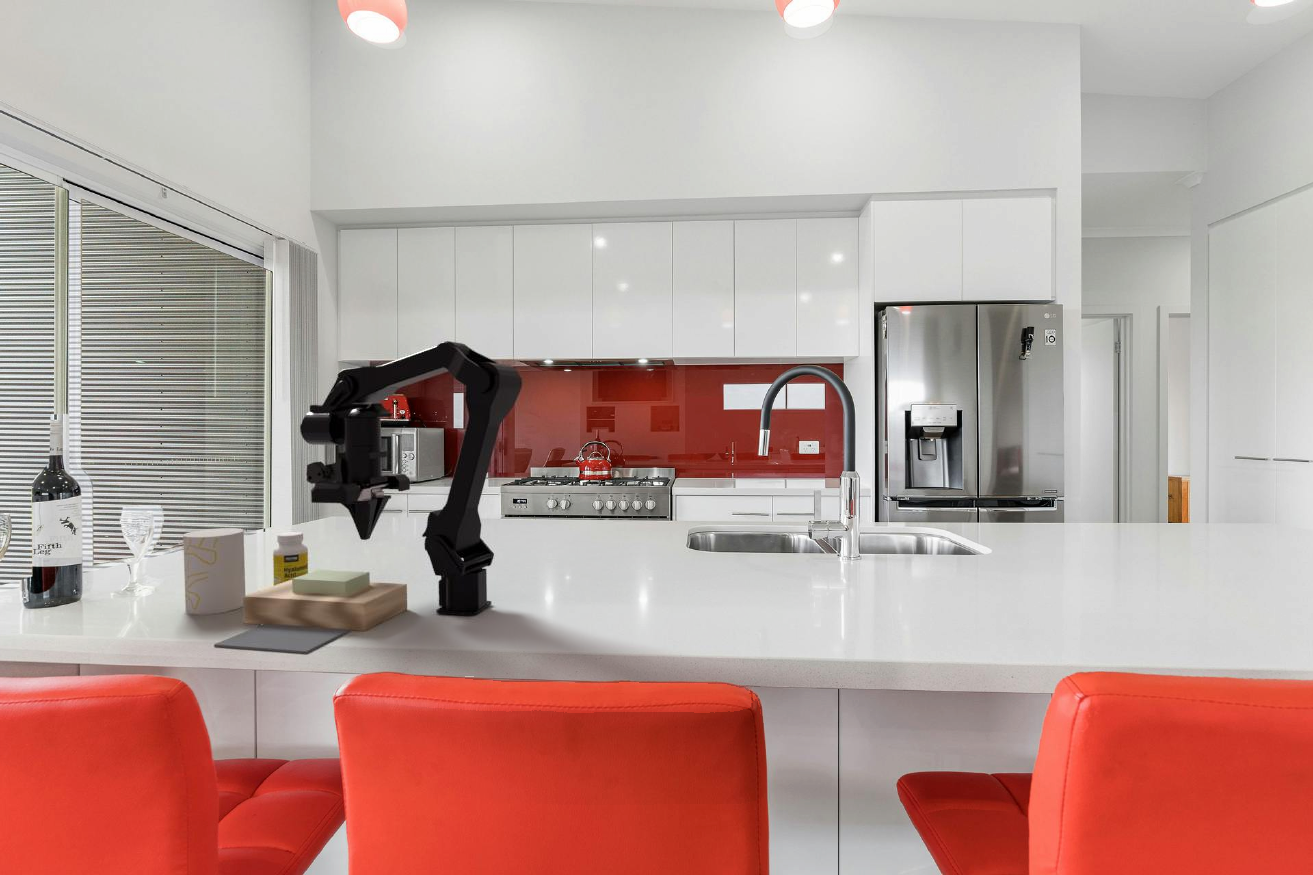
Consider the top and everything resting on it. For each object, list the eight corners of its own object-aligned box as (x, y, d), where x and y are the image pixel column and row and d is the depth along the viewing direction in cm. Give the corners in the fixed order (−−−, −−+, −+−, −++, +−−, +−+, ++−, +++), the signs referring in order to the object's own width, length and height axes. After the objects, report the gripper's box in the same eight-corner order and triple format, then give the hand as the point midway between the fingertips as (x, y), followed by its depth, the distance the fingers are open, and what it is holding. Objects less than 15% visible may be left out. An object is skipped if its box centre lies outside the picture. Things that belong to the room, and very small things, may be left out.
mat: (350, 631, 99) (350, 629, 99) (306, 653, 90) (306, 651, 90) (264, 625, 102) (264, 623, 101) (214, 646, 93) (214, 644, 93)
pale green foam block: (369, 584, 109) (369, 572, 109) (345, 594, 103) (345, 581, 103) (319, 582, 111) (318, 569, 111) (292, 591, 105) (292, 578, 105)
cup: (174, 609, 110) (172, 534, 109) (226, 597, 117) (224, 526, 116) (204, 617, 106) (202, 539, 105) (256, 603, 113) (254, 530, 112)
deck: (407, 609, 110) (406, 583, 109) (364, 631, 99) (364, 603, 99) (296, 602, 114) (295, 578, 113) (243, 622, 103) (243, 596, 103)
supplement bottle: (282, 594, 118) (281, 537, 118) (268, 589, 122) (266, 534, 121) (314, 587, 123) (312, 532, 122) (299, 583, 126) (298, 529, 126)
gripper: (354, 442, 125) (356, 528, 126) (278, 448, 107) (281, 549, 107) (410, 442, 123) (412, 530, 124) (343, 449, 105) (345, 551, 105)
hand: (365, 539), depth 115 cm, fingers closed
